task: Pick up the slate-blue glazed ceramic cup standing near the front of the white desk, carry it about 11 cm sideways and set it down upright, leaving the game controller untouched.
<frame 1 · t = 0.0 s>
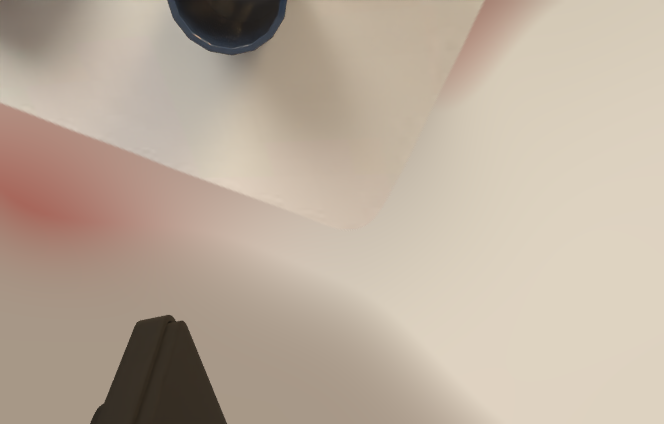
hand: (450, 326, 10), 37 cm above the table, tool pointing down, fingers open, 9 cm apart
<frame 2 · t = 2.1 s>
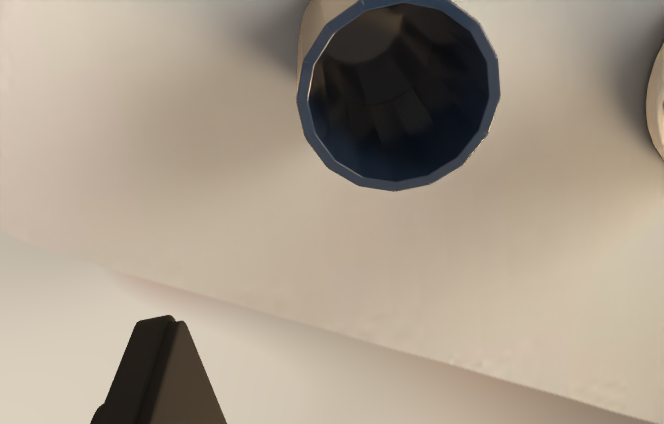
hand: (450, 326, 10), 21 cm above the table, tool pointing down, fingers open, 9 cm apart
cup: (368, 41, 28), on the table
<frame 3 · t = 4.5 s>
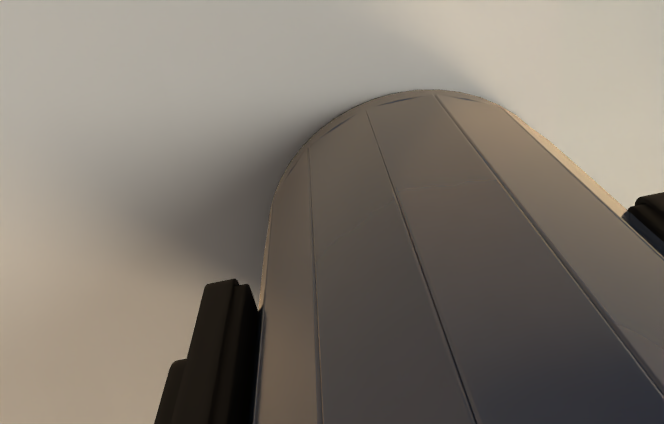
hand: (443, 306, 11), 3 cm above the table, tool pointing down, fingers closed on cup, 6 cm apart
cup: (416, 234, 13), on the table, touching gripper
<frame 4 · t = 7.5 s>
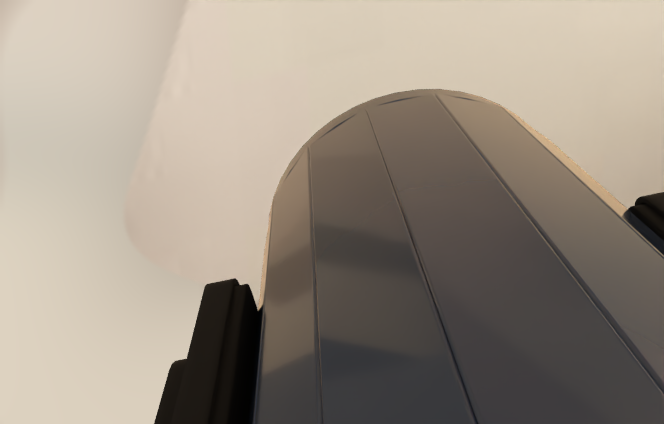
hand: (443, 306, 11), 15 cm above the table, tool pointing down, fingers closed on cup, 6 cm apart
cup: (416, 234, 13), point 12 cm above the table, touching gripper
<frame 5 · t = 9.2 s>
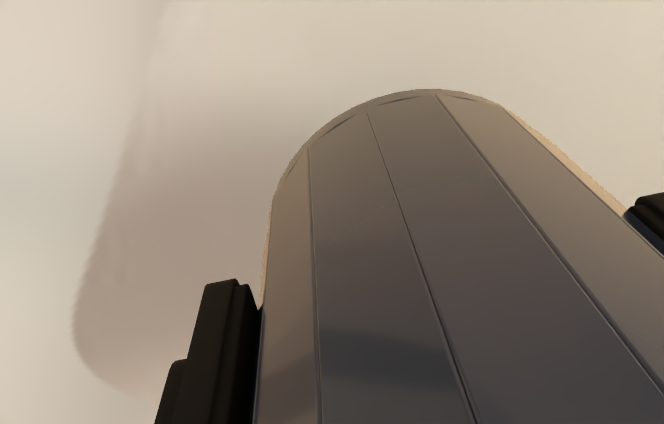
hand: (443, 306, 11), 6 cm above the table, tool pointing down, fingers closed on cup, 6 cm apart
cup: (416, 234, 13), point 4 cm above the table, touching gripper
when the fingers open (3 cm above the table, at t = 10.6 s): cup stays where it is, on the table.
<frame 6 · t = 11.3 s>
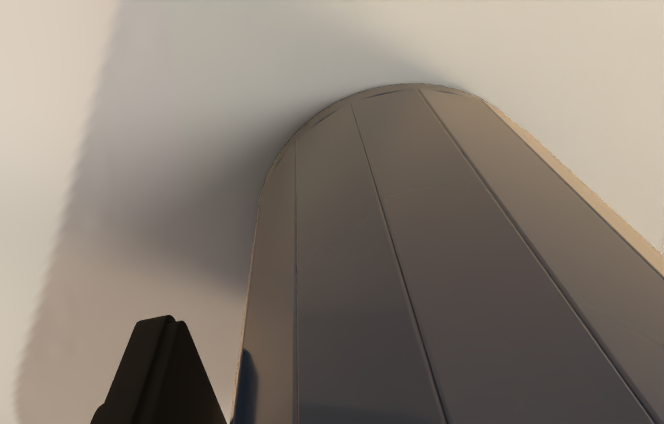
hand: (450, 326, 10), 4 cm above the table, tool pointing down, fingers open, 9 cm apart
cup: (402, 224, 13), on the table
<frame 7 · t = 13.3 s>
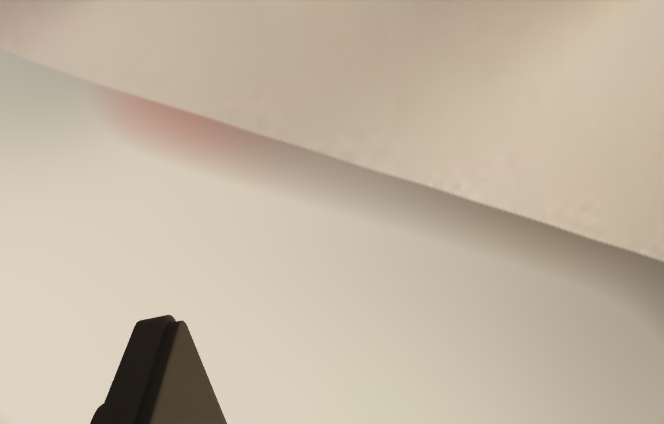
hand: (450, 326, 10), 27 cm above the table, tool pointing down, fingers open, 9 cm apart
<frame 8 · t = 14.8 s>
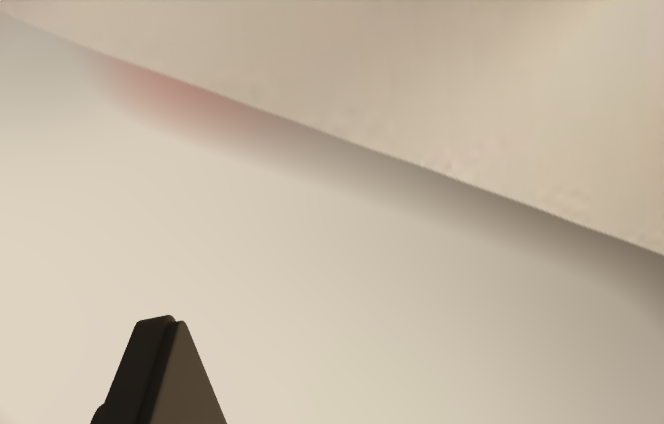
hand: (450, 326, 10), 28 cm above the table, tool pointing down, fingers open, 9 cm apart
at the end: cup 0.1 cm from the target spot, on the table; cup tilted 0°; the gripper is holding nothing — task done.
